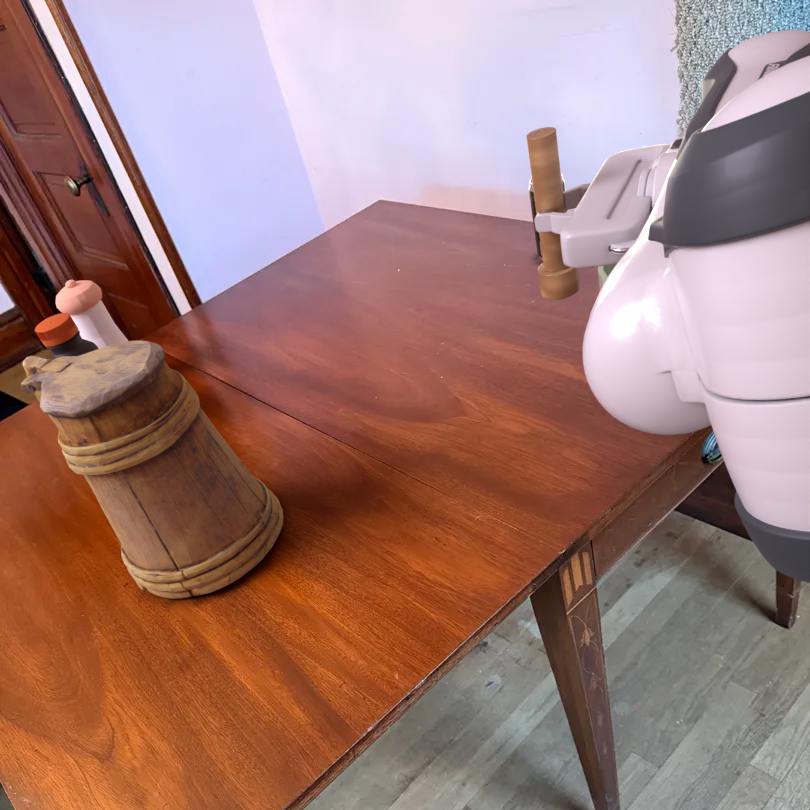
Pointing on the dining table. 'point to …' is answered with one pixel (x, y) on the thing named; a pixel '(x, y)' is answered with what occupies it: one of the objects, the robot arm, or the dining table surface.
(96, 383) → the tankard
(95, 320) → the pepper shaker
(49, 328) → the bottle
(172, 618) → the dining table surface
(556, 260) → the wooden pestle
